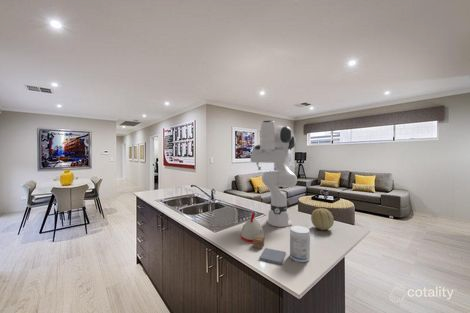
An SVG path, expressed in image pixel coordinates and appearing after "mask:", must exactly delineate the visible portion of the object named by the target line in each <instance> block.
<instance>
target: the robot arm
mask: <svg viewBox="0 0 470 313" xmlns="http://www.w3.org/2000/svg"><path fill="white" fill-rule="evenodd" d="M260 126H261V127H260V142H259V144H257V145H254V146H252V151H251V154H250V163H256V164H255V165H257V166H256V167H257V170H258V171H261V170H262V169H261V166H259V164H260V163H262V164H263V163H267V164H269V163H271V164H272V163H273V171H271V170H270V171H264V173H263V174H262V177H261V180H262V183H263V185H265V187H267V188H268V190H269V193H270V197H271V198H270V200H271V201H270V202H271V204H270V210H268V214H267V215H268V218H267V219H266V220H265V222H266V223H268V225H270V226H274V227H278V228H279V227H280V228H281V227H282V228H283V227H290V226H291V227H292V219H291V218H290V217H289V212H288V205H287V194H286V192H284V191H282V190H280V187H285V188H293V187H295V186H296V185H297V183H298V177H297V174H296V173H294V172H292V170H291V169H290V167H289V162H290V153H289V151H292V149H293V148H295V146H296V142H297V139H296V136H295V135H293V131H292V128H291V127H289V126H283V125H281V124H278V125H276V122H275V121H274V120H263V121H262V122H261V125H260Z"/></svg>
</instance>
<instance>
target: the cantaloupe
mask: <svg viewBox="0 0 470 313" xmlns="http://www.w3.org/2000/svg"><path fill="white" fill-rule="evenodd" d="M334 219H335V218H334V216H333V214H332V212H331V211H329V209H327V208H321V207H320V206H318V207H317V208H316V209H314V210H313V211H312V212H311V216H310V220H311V223H312V225H313V226H314V227H315V228H316V229H318V230H322V231H326V230H329V229H330V228H332V227H333V226H334V221H335V220H334Z"/></svg>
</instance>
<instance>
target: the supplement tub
mask: <svg viewBox="0 0 470 313" xmlns="http://www.w3.org/2000/svg"><path fill="white" fill-rule="evenodd" d="M289 229H290V231H289V232H290V233H289V256H290V259H292V260H293V261H295V262H297V263H307V262H309V261H310V258H311V257H310V255H311V254H310V249H311V247H310V245H311V233H310V229H309V228H308V227H304V226H301V225H294V226H291V227H290V228H289Z"/></svg>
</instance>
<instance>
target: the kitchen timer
mask: <svg viewBox="0 0 470 313" xmlns="http://www.w3.org/2000/svg"><path fill="white" fill-rule="evenodd" d="M255 215H256V214H255V213H254V212H252V213H251V216H250V218H249V219H248V220H247V221H246V222H245V223H244V224H243V225H242V227H241V233H240V237H241V239H242V240H243V241H245V242H247V243H252V244H253V238H254V237H255V236H261V237H264V228H263V226H262V224H261V223H260V222H259V221H258V220H257V219H256V218H255ZM264 238H265V237H264Z"/></svg>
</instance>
